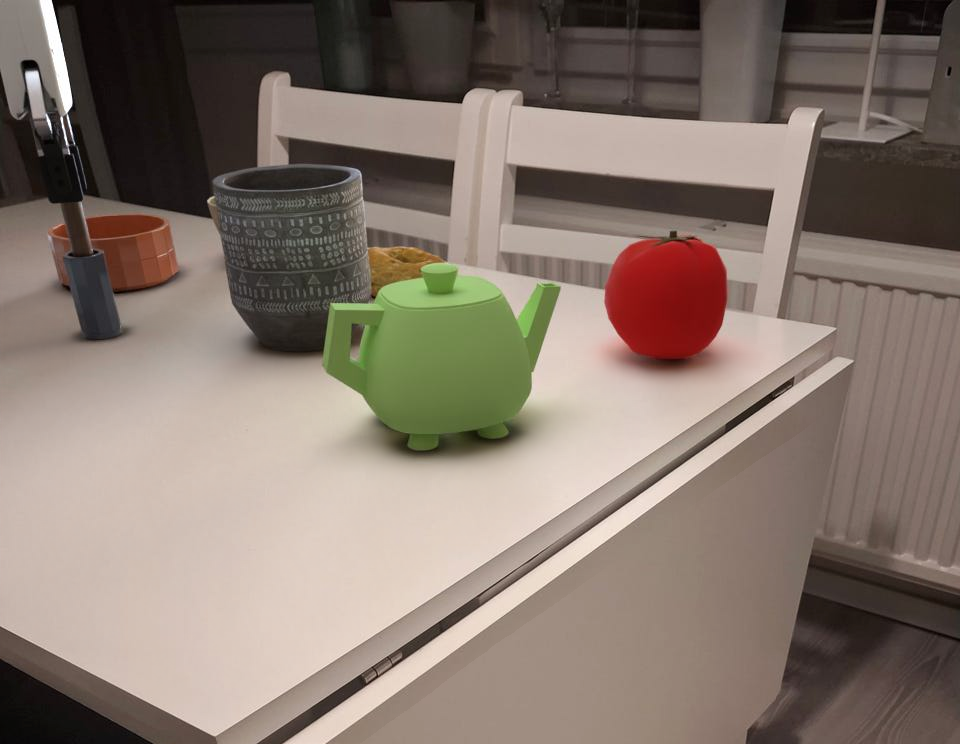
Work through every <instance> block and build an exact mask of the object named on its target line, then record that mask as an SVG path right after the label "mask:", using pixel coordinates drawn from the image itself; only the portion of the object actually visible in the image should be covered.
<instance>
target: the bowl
mask: <svg viewBox="0 0 960 744" xmlns="http://www.w3.org/2000/svg"><path fill="white" fill-rule="evenodd" d="M85 220H86V224H87V229H88V233H89V237H90V241H91V245H92V249H100V250H103V251H104V254H105V258H106V262H107V267H108V271H109V275H110V279H111V284H112V288H113V292H114V293H119V292H120V293H121V292H129V291H135V290H140V289H141V290H142V289H146V288H150V287H153V286H156V285H159V284H161V283H164V282H166V281H168V280H169V279H171V277H173V276H174V275H175V274H176V273H178V272H179V265H178V264H179V263H178V258H177V254H176V253H177V252H176V248H175V244H174V243H175V242H174V237H173V233H172V228H171V223H170V220H169V219H168V218H166V217H164V216H161V215H156V214H149V213H148V214H147V213H114V214H113V213H111V214H103V215H102V214H101V215H100V214H99V215H94V216H85ZM46 235H47V239H48V243H49V246H50V250H51V254H52V258H53V261H54V265H55V270H56V273H57V277H58V281H59V282H60V283H62V285H64V286H68V287H70V285H69V281H68V277H67V273H66V269H65V265H64V262H63V258H62V256H63V254H64V253H66V252H69V251H72V249H71V245H70V241H69V237H68V233H67V229H66V225H65V221H63V222H60V223H58V224H55V225H53V226H52V227H50V228H48V229H47V232H46Z"/></svg>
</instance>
